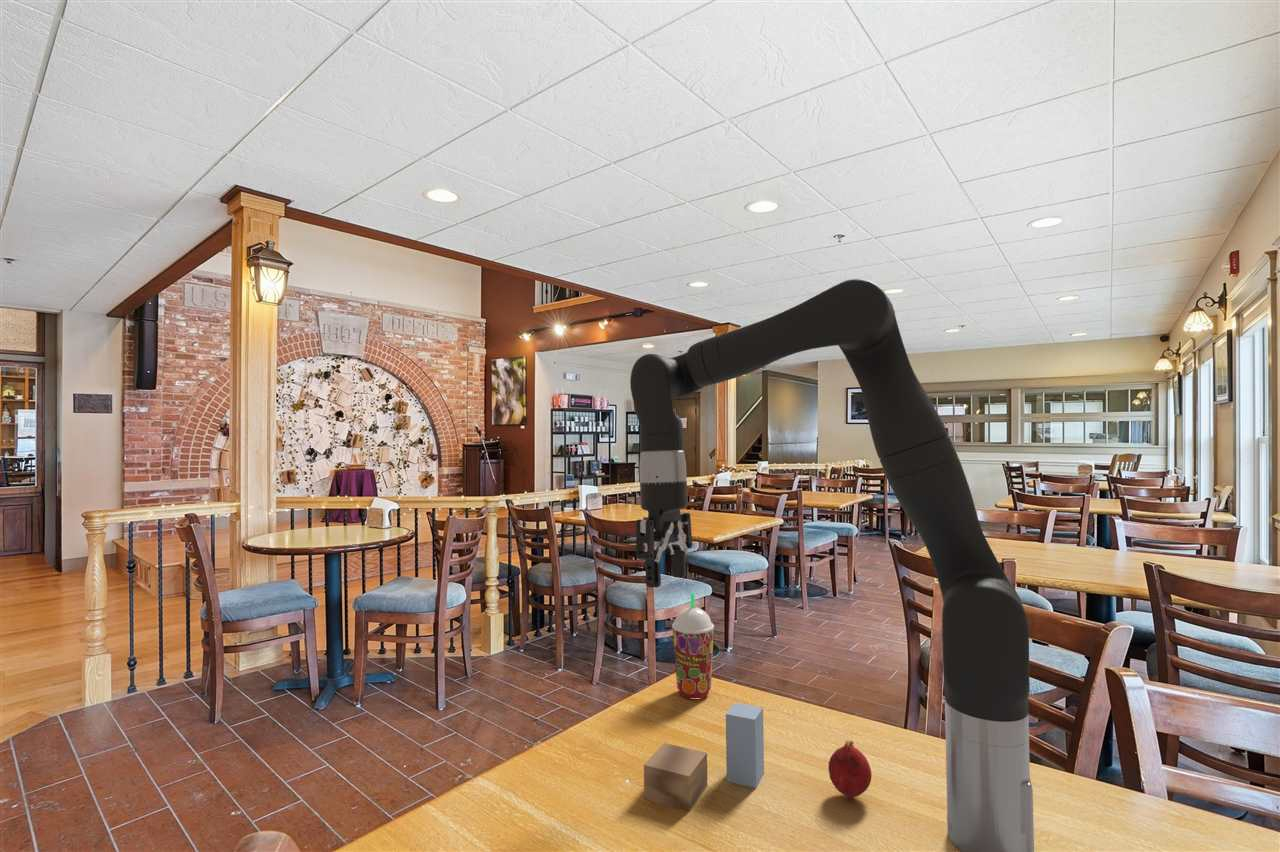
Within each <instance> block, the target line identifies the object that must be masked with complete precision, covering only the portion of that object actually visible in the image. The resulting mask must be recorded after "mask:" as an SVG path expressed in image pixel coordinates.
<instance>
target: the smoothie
mask: <svg viewBox="0 0 1280 852" xmlns="http://www.w3.org/2000/svg"><path fill="white" fill-rule="evenodd" d="M671 626H672V635H673V636H672V637H673V639H672V640H673V650H674V652H673V653H674V662H675V664H674V665H675V674H676V675H675V677H676V678H675V679H676V687H677V690H678V691H679V694H680V696H681V697H683V698H685V699H687V698H702V699H704V698H703V697H705V696H706V697H707V695H709V691H711V689H712V676H713V675H712V674H713V673H712V671H713V652H714V649H713V648H714V632H715V631H714V630H715V629H714V628H715V624H714V623H713V622H712V621H711V617H710V616H709V615H708V613H707V612H706V611H705V610H704V609H702V608H700V607H697V606H695V593H690V606H689V607H685V608H684V609H682V610H681V611H680V612H679V613H678V614H677V615H676V617H675V619H674V622H673V623H672V625H671ZM706 697H705V698H706Z"/></svg>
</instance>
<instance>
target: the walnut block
mask: <svg viewBox="0 0 1280 852" xmlns="http://www.w3.org/2000/svg"><path fill="white" fill-rule="evenodd" d="M707 787H708V752H705V751H701V750H697V749H692V748H689V747H688V748H687V747H684V746H680V745H674V744H670V743H667V742H663V743H662V744H661V745H660V746H659V747H658V748H657V750H656V751H655V752H654V753H653V754H652V755H651V756H650V757H649V758H648V760H647V761H646V762H645V763H644V764H643V791H644V792H643V798H644V800H647V801H650V802H654V803H657V804H661V805H665V806H668V807H672V808H674V809H679V810H683V811H686V812H689V813H690V812H691V811H692V809H693V807H694V806H695V805H696V803H697V802H698V800H699V799H700V798H701V796H702V795H703V793H704V792H705V791H706V789H707Z"/></svg>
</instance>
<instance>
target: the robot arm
mask: <svg viewBox="0 0 1280 852" xmlns="http://www.w3.org/2000/svg"><path fill="white" fill-rule="evenodd" d="M896 317H897V316H896V312H895V309H894V305H893V304H892V302H891V300H890V298H889V297H888V295H887V293H885V291H884V290H883V289H882V288H881V287H880V286H879V285H877V284H876V283H874V282H873V281H870V280H867V279H865V278H852V279H846V280H844V281H841V282H840V283H837V284H836V285H833V286H831V287H830V288H828V289H825V290H824V291H822V292H820V293H818V294H816V295H814V296H813V297H811V298H808V299H807V300H805V301H803V302H801V303H799V304H797V305H795V306H792V307H791V308H788V309H786V310H784V311H783V312H780V313H779V312H778V313H777V314H775V315H773V316H770V317H767V318H765V319H763V320H760V321H757V322H755V323H754V322H753V323H750V324H748V325H745V326H743V327H740V328H736V329H733V330H731V331H728V332H724V333H722V334H717V335H714V336H712V337H710V338H706V339H703V340H701V341H698V342H696V343H693V344H692V345H690V347H689V348H688V350H687V351H686V352H685V353H682V354H680V355H677V356H673V357H667V356H663V355H660V354H657V353H647V354H644V355H641V356H640V357H639V358H638V359H637V360H636V361H635V362H634V364H633V366H632V369H631V371H630V373H631V374H630V381H629V382H630V392H631V398H632V402H633V406H634V409H635V414H636V417H637V420H638V425H639V443H640V444H639V445H640V446H639V447H640V457H639V489H640V491H639V493H640V508H641V509H642V510H643V511H647V513H648V514H647V519H637V520H636V521H635V522H636V523H635V528H636V529H635V531H636V532H635V534H636V535H635V538H636V539H635V542H636V543H635V551H636V552H635V555H636V556H635V557H636V559H637V560H642V562H644V563H645V582H646V586H647V587H648V588H659V587H661V586H662V585H661V584H662V580H661V579H662V577H661V576H662V573H661V561H660V560H661V558H662V554H663V551H665V550H666V549H667V547H669V549H670V551H671V553H673V554H671V574H672V577H673V578H677V579H682V578H685V577H686V576H687V568H686V567H687V566H686V554H688V551H689V549H692V547H693V537H692V536H693V534H692V521H691V520H692V519H691V514H690V512H681V510H685V509H687V507H688V505H689V504H688V480H687V479H688V478H687V462H686V458H685V457H686V455H685V439H684V425H683V421H682V418H681V417H679V416H678V415H677V414H676V413H675V410H674V407H673V400H678V399H680V398H683V397H686V396H689V395H691V394H693V393H696V392H697V391H699V390H701V389H704V388H705V387H707V386H711V385H715V384H720V383H724V382H727V381H730V380H733V379H736V378H737V379H738V378H740V377H743V376H745V375H749V374H751V373H753V372H756V371H758V370H761V369H762V368H764V367H766V366H768V365H770V364H772V363H774V362H776V361H779V360H781V359H783V358H784V359H785V358H786V357H789V356H791V355H794V354H797V353H801V352H805V351H808V350H815V349H820V348H826V347H827V348H828V347H835V346H836V347H837V346H838V347H839V348H840V350H841V352H842V354H843V355H844V356H845V359H846V360H847V362H848V364H849V367H850V368H851V370H852V372H853V375H854V376H855V379H856V381H857V382H858V385H859V387H860V391H861V393H862V397H863V402H864V405H865V410H866V417H867V421H868V426H869V430H870V433H871V438H872V442H873V445H874V449H875V452H876V455H877V457H878V459H879V462H880V464H881V468H882V469H883V472H884V474H885V476H886V479H887V482H888V484H889V486H890V487H891V490H892V492H893V493H894V495H895V498H896V499H897V501H898V503H899V505H900V506H901V508H902V510H903V511H904V513H905V515H906V516H907V518H908V520H909V521H910V522H911V524H912V526H913V527H914V528H915V530H916V532H917V533H918V535H919V536H920V538H921V540H922V542H923V544H924V546H925V548H926V550H927V552H928V555H929V558H930V560H931V563H932V566H933V568H934V572H935V575H936V578H937V582H938V585H939V589H940V592H941V597H942V603H943V605H942V611H941V615H942V616H941V633H942V635H941V636H942V637H941V638H942V665H943V668H942V670H943V671H942V672H943V674H942V675H943V684H944V685H943V686H944V687H943V688H944V713H945V717H944V718H945V724H944V725H945V766H946V767H945V769H946V771H945V772H946V774H945V775H946V810H947V811H946V822H947V834H948V835H947V836H948V838H949V840H950V842H951V843H952V844H953V845H954V846H955V848H957V849H958V850H959V851H961V852H1035V831H1034V791H1033V788H1034V787H1033V783H1032V780H1031V775H1030V774H1031V773H1030V772H1031V771H1030V767H1031V766H1030V765H1031V764H1030V727H1029V726H1030V725H1029V722H1030V721H1029V697H1030V684H1031V683H1030V637H1029V636H1030V634H1029V620H1028V616H1027V613H1026V610H1025V607H1024V604H1023V602H1022V599H1021V597H1020V595H1019V593H1018V592H1017V590H1016V589H1015V588H1014V586H1013V585H1012V583H1011V582H1010V580H1009V579H1008V576H1007V575H1006V573H1005V571H1004V569H1003V568H1002V566H1001V565H1000V562H999V561H998V559H997V557H996V555H995V554H994V552H993V550H992V548H991V546H990V544H989V543H988V541H987V538H986V536H985V534H984V532H983V530H982V527H981V524H980V521H979V517H978V514H977V510H976V507H975V503H974V498H973V496H972V492H971V488H970V486H969V482H968V480H967V476H966V473H965V471H964V468H963V465H962V463H961V461H960V457H959V456H958V453H957V451H956V448H955V447H954V444H953V441H952V439H951V437H950V436H949V433H948V430H947V428H946V426H945V425H944V422H943V421H942V419H941V417H940V415H939V413H938V411H937V409H936V407H935V406H934V404H933V402H932V400H931V398H930V397H929V395H928V394H927V392H926V390H925V388H924V387H923V386H922V383H921V382H920V381H919V379H918V376H917V375H916V373H915V371H914V369H913V366H912V365H911V362H910V360H909V356H908V354H907V351H906V348H905V344H904V341H903V338H902V335H901V332H900V329H899V325H898V321H897V318H896ZM644 546H645V548H644Z"/></svg>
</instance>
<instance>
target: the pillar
mask: <svg viewBox="0 0 1280 852" xmlns="http://www.w3.org/2000/svg"><path fill="white" fill-rule="evenodd" d="M764 735H765V734H764V707H762V706H756V705H752V704H746V703H740V702H734V703H733V704H732V705H731V706H730V707H729V709H728V710H727V712H726V713H725V746H726V747H725V749H726V750H725V752H726V754H725V755H726V756H725V757H726V758H725V759H726V760H725V763H726V764H725V765H726V782H729V783H732V784H737V785H741V786H744V787H748V788H752V789H753V788H754V789H757V788H758V786H759V784H760V782H761V780H762V778H763V776H764V774H765V752H764V751H765V747H764V745H765V744H764V743H765V742H764V740H765V739H764V738H765V737H764Z"/></svg>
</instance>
